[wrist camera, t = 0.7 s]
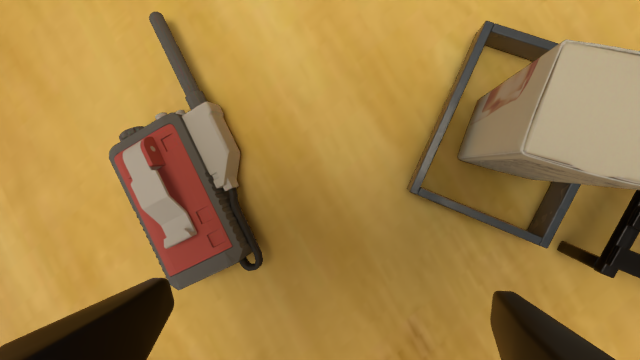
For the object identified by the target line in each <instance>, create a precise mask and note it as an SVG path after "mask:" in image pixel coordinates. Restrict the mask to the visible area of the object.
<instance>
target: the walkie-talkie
mask: <svg viewBox="0 0 640 360" xmlns="http://www.w3.org/2000/svg"><path fill="white" fill-rule="evenodd" d="M149 20H150V22H151V24H152V26H153V28H154V30H155V33H156V35H157V37H158V39H159V41H160V43H161V45H162V47H163V49H164V51H165V53H166V55H167V57H168V59H169V61H170V64H171V66H172V68H173V70H174V72H175V74H176V76H177V78H178V80H179V82H180V84H181V86H182V88H183V90H184V92H185V95H186V97H185V98H186V100H187V102H188V105H189V107H190V109H191V111H189V112H187V113H185V111H184V110H178V111H176V112H175V113H170V114H167V113H159V114H157V115H156V116H155V118H156V120H155V121H154V122H152V123H151V124H149V125H147V126H146V127H143V126H138V127H133V128H130V129H127V130H125V131H123V132H122V133H121V134H120V136H119V139H120V141H121V142H120V143H118V144H116V145H115V146H113V147H112V148H111V150H110V151H109V159H110V161H111V163H112V166H113V168H114V170H115V172H116V174H117V176H118V178H119V180H120V182H121V184H122V186H123V189H124V191H125V193H126V195H127V197H128V199H129V201H130V203H131V205H132V207H133V210H134V211H135V212H136V214H137V218H139V220H140V224H141V225H142V227H143V230H144V231H145V233H146V237H147V238H148V239H149V241H150V245H151V246H152V248H153V251H154V252H155V254H156V258H158V260H159V264H160V265H161V267H162V270H163V272H164V273H165V275H166V278H167V279H168V281H169V283H170V285H171V286H173V287H174V288H176V289H177V290H181V289H183V288H185V287H187V286H189V285H191V284H193V283H196V282H198V281H200V280H202V279H204V278H206V277H208V276H210V275H213V274H215V273H217V272H219V271H221V270H223V269H225V268H228V267H230V266H232V265H234V264H236V263H237V262H240V264H241V266H242V267H243V268H244V269H246V270H248V271H251V270H256V269H258V268H259V267H260V266H261V264H262V262H263V258H262V252H261V250H260V248H259V246H258V244H257V242H256V239H255V237H254V234H253V233H252V231H251V229H250V226H249V225H248V223H247V220H246V219H245V217H244V214H243V213H242V211H241V208H240V207H239V203H238V200H237V197H238V194H237V190H236V188H237V187H238V186H239V184H238V182H237V173H238V167H239V160H240V151H239V149H238V147H237V145H236V143H235V141H234V139H233V137H232V135H231V133H230V131H229V129H228V127H227V125H226V123H225V120H224V118H223V112H222V110H221V108H220V106H219V105H217V104H214V103H211V102H207V100H206V98H205V96H204V94H203V92H202V91H200V90H199V88H198V86H197V84H196V82H195V80H194V78H193V76H192V74H191V71H190V69H189V67H188V65H187V63H186V61H185V59H184V57H183V55H182V53H181V51H180V49H179V47H178V45H177V44H176V42H175V40H174V38H173V36H172V34H171V31H170V29H169V27H168V25H167V23H166V21H165V19H164V17H163V15H162V14H161V13H159V12H152V13H151V14H150V16H149ZM251 252H253V253H254V255H255V260H256V262H255V263H254V264H251V263H250V262H249V261H248V260H247V258H246V256H247V255H249V254H250V253H251Z"/></svg>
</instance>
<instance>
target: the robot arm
mask: <svg viewBox="0 0 640 360" xmlns="http://www.w3.org/2000/svg"><path fill="white" fill-rule="evenodd" d="M173 307H174V299H173V295H172V291H171V287H170V283H169V281H168V280H167V279H165V278H152V279H149V280H147V281H145V282H143V283H140V284H138V285H136V286H134V287H131V288H129V289H127V290H125V291H123V292H120V293H118V294H116V295H114V296H111V297H109V298H107V299H105V300H103V301H100V302H98V303H96V304H94V305H91V306H89V307H87V308H85V309H82V310H80V311H78V312H76V313H74V314H71V315H69V316H67V317H65V318H62V319H60V320H58V321H56V322H53V323H51V324H49V325H47V326H45V327H42V328H40V329H38V330H36V331H33V332H31V333H29V334H27V335H25V336H22V337H20V338H18V339H16V340H13V341H11V342H9V343H7V344H4V345H3V346H1V347H0V360H146V359H147V357H148V355H149V354H150V352H151V350H152V348H153V346H154V344H155V342H156V341H157V339H158V337H159V335H160V333H161V331H162V329H163V327H164V325H165V323H166V322H167V320H168V318H169V316H170V314H171V312H172V310H173ZM491 327H492V331H493V334H494V337H495V341H496V344H497V347H498V351H499V354H500V357H501V360H615V359H614V358H612V357H611V356H609V355H608V354H606V353H605V352H603V351H602V350H600V349H599V348H597V347H596V346H594V345H593V344H591V343H590V342H588V341H587V340H585V339H584V338H582V337H581V336H579V335H578V334H576V333H575V332H573V331H572V330H570V329H569V328H567V327H566V326H564V325H563V324H561V323H560V322H558V321H557V320H555V319H554V318H552V317H551V316H549V315H548V314H546V313H545V312H543V311H542V310H540V309H539V308H537V307H536V306H534V305H533V304H531V303H530V302H528V301H527V300H525V299H524V298H522V297H521V296H519V295H518V294H516V293H514V292H511V291H496V292H494V294H493V299H492V309H491Z"/></svg>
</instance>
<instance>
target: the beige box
mask: <svg viewBox="0 0 640 360" xmlns="http://www.w3.org/2000/svg"><path fill="white" fill-rule="evenodd" d="M458 159H459V160H461V161H465V162H468V163H471V164H475V165H478V166H482V167H485V168H489V169H493V170H496V171H500V172H504V173H508V174H511V175H515V176H520V177H524V178H528V179H533V180H544V181H554V182H564V183H575V184H584V185H594V186H604V187H614V188H624V189H634V190H640V51H635V50H630V49H624V48H619V47H613V46H607V45H601V44H594V43H586V42H580V41H573V40H564V41H563V42H561V43H560V44H558V45H557V46H555V47H554V48H552V49H551V50H550V51H548V52H547V53H545V54H544V55H542V56H541V57H540V58H538V59H537V60H535V61H534V62H532V63H531V64H529V65H528V66H526V67H525V68H524V69H522V70H521V71H519V72H518V73H516V74H515V75H513V76H512V77H510V78H509V79H508V80H506V81H505V82H503V83H502V84H500V85H499V86H498V87H496V88H495V89H493V90H492V91H490V92H489V93H487V94H486V95H484V96H483V97H481V98H480V99H479V100H478V101H477V104H476V106H475V109H474V112H473V114H472V117H471V119H470V122H469V125H468V127H467V130H466V133H465V136H464V139H463V142H462V145H461V148H460V151H459V154H458Z"/></svg>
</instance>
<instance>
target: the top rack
mask: <svg viewBox="0 0 640 360" xmlns="http://www.w3.org/2000/svg"><path fill="white" fill-rule="evenodd" d="M639 232H640V190H636V192H635V194H634V196H633V197H632V199H631V201H630V203H629V205H628V207H627V208H626V210H625V212H624V214H623V216H622V218H621V219H620V221H619V223H618V225H617V227H616V228H615V230H614V232H613V234H612V236H611V238H610V239H609V241H608V243H607V245H606V247H605V248H604V250H603V252H602V254H601V256H600V257H599V256H597V255H595V254H592V253H590V252H588V251H585V250H583V249H581V248H579V247H576V246H574V245H572V244H569V243H567V242H564V241H561V243H560V245H559V247H558V249H557V250H558V251H560V252H562V253H564V254H566V255H568V256H570V257H571V258H573V259H575V260H577V261H579V262H581V263H583V264H585V265H587V266H589V267H591V268H593V269H594V270H595V271H597V272H599V273H601V274H604V275H606V276H608V277H611V278H614V277H615V275H616V273H617V271H618V270H621V271H624V272H626V273H629V274H631V275H633V276H636V277H638V278H640V254H638V253H636V252H633V251H631V250H630V248H631V246H632V245H633V243H634V241H635V239H636V238H637V236H638V234H639Z"/></svg>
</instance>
